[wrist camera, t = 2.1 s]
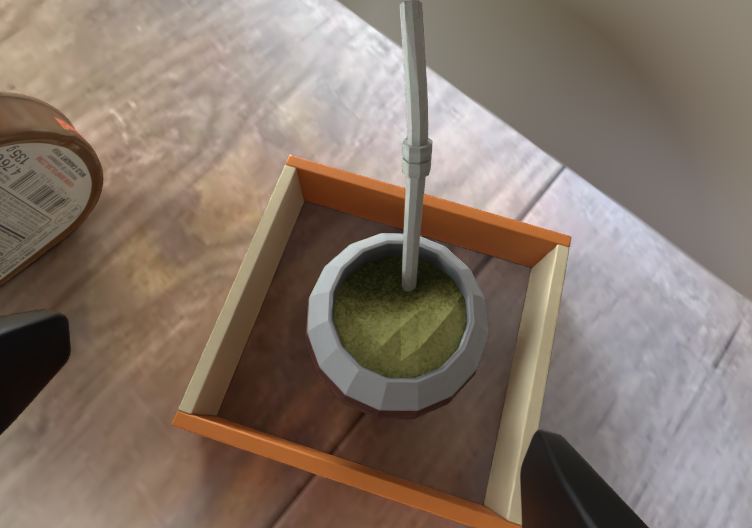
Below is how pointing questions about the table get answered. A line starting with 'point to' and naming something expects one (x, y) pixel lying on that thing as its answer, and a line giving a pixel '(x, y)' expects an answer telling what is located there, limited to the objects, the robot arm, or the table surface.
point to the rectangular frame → (439, 221)
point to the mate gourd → (399, 291)
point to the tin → (41, 180)
